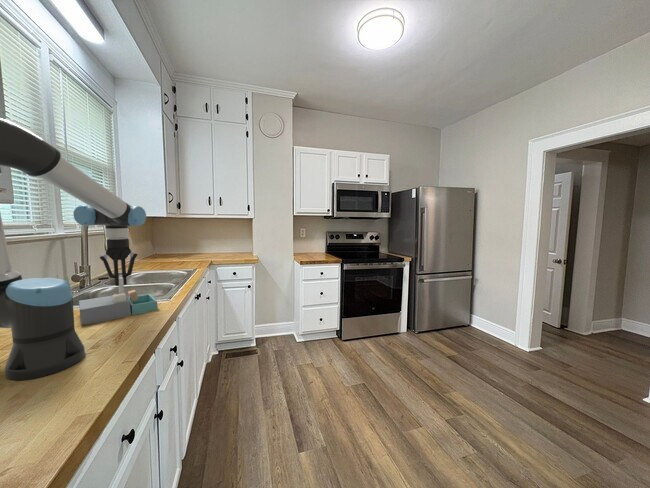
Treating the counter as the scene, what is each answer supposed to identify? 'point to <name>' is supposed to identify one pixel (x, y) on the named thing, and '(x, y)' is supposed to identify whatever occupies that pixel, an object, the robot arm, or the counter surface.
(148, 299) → the bin
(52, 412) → the counter surface
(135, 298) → the terracotta tile
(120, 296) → the cream tile
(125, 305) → the grey flat block
